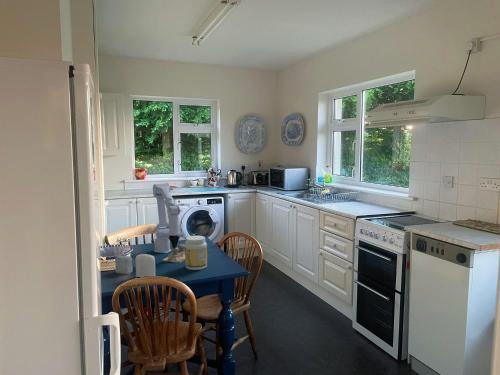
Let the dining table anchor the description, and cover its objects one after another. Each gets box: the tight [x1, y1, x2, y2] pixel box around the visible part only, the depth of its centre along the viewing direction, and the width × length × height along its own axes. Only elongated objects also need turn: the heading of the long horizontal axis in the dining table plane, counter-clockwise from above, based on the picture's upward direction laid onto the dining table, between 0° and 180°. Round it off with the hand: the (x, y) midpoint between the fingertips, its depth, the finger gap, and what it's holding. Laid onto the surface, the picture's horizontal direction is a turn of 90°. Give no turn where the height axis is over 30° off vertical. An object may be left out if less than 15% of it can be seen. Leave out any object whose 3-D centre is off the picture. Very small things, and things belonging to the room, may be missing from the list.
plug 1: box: [170, 246, 179, 255], centre depth 226 cm, size 4×4×4 cm
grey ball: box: [177, 243, 185, 252], centre depth 233 cm, size 4×4×4 cm
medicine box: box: [114, 255, 134, 275], centre depth 205 cm, size 8×4×9 cm, turn 71°
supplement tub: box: [184, 235, 208, 271], centre depth 212 cm, size 12×12×17 cm
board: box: [162, 248, 185, 264], centre depth 233 cm, size 12×22×4 cm, turn 157°
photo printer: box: [135, 253, 156, 278], centre depth 197 cm, size 10×4×12 cm, turn 77°
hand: (174, 248), depth 226 cm, fingers closed
